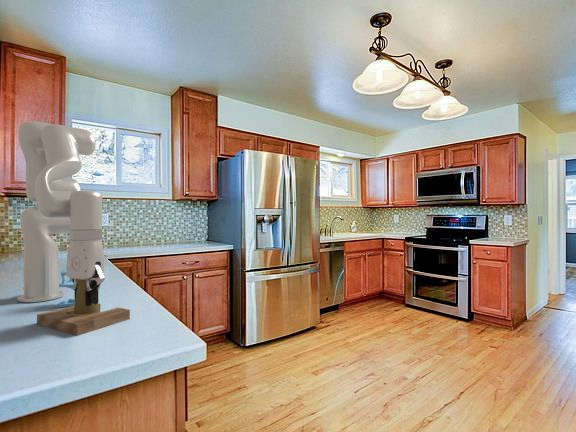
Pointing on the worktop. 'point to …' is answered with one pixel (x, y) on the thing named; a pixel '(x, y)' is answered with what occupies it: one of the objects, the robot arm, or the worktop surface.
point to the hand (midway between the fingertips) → (86, 302)
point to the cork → (83, 299)
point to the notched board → (81, 319)
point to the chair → (69, 285)
